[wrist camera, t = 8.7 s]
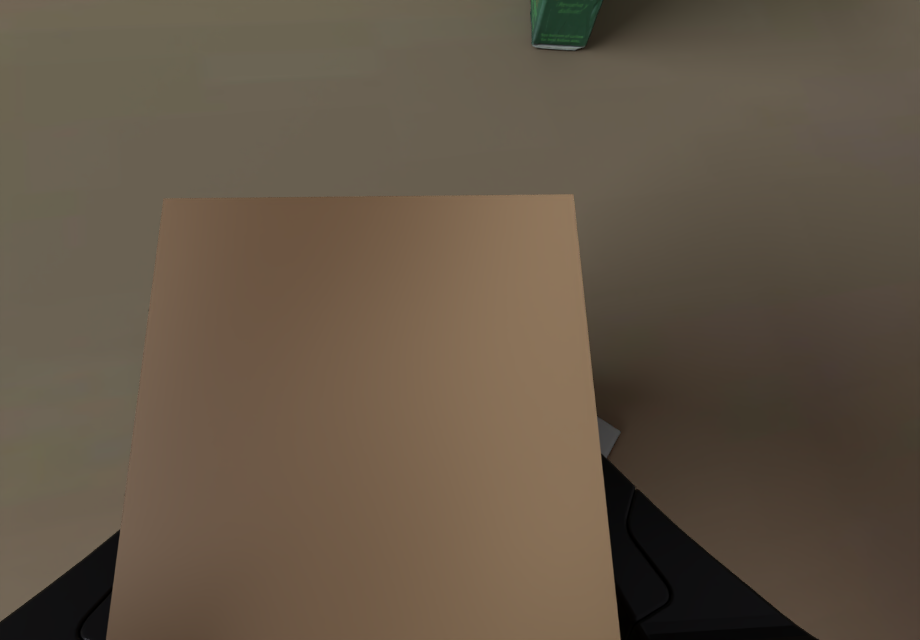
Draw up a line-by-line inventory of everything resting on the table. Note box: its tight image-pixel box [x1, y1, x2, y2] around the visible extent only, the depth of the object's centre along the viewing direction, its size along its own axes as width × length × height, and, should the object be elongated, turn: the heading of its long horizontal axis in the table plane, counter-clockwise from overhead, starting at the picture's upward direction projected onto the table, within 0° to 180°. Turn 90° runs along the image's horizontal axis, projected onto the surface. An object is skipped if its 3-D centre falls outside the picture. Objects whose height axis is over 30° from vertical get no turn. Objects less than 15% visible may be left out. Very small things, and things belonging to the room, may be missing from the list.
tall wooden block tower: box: [106, 194, 621, 640], centre depth 9 cm, size 4×6×12 cm, turn 2°
